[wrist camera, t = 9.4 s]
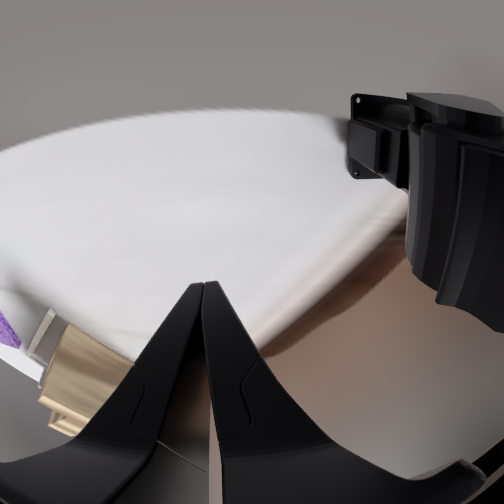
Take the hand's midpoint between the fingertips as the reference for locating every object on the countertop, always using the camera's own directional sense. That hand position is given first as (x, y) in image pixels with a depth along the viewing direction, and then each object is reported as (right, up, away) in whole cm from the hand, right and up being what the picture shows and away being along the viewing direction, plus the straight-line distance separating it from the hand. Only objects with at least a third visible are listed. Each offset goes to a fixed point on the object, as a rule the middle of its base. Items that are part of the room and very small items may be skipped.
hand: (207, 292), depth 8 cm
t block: (-22, -15, +22) cm, 35 cm away
